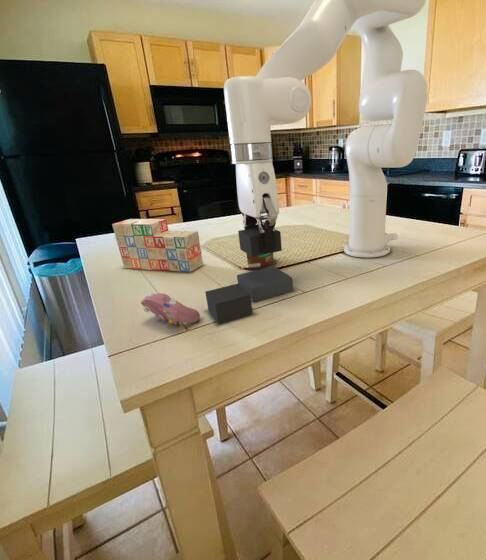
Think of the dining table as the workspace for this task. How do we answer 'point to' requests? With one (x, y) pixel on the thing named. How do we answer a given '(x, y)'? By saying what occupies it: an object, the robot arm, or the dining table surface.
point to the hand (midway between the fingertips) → (260, 246)
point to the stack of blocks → (157, 246)
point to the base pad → (265, 283)
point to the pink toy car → (169, 309)
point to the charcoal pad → (255, 241)
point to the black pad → (229, 303)
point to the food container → (260, 261)
